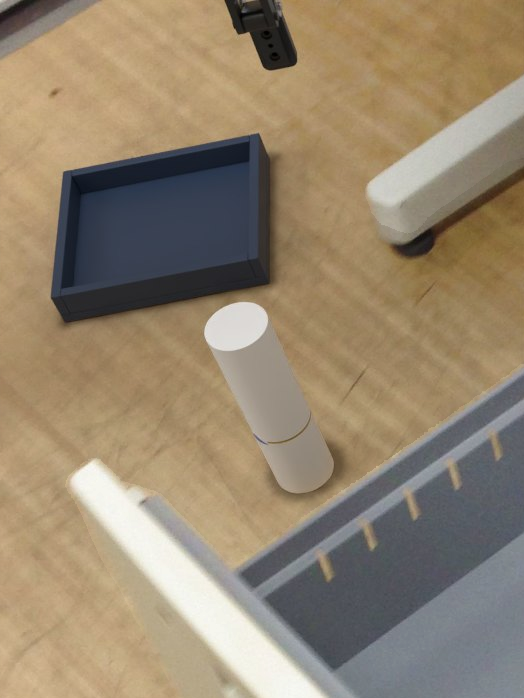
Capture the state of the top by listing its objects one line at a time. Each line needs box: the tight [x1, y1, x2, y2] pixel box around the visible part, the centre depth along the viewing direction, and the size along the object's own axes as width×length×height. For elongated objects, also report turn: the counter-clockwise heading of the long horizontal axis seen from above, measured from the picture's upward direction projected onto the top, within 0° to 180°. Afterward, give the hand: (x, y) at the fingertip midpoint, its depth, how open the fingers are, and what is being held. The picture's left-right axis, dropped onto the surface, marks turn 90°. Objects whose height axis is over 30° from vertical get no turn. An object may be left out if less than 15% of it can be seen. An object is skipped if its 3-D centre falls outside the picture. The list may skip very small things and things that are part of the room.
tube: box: [203, 301, 335, 494], centre depth 123 cm, size 4×4×15 cm
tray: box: [50, 132, 271, 323], centre depth 144 cm, size 17×15×3 cm
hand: (281, 22), depth 114 cm, fingers open, 8 cm apart
